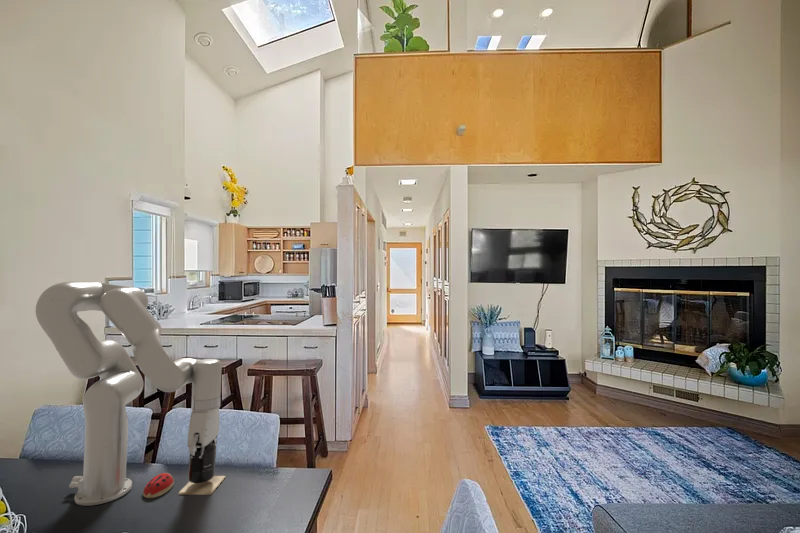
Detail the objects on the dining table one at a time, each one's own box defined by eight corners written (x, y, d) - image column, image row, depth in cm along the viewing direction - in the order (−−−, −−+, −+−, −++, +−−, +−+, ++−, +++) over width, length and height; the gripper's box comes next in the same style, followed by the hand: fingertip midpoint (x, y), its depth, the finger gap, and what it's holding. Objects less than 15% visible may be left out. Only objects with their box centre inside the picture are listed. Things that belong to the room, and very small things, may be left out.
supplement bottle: (203, 485, 107) (205, 442, 107) (182, 482, 108) (184, 439, 108) (220, 473, 113) (221, 432, 114) (199, 470, 115) (201, 430, 115)
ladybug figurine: (178, 481, 113) (179, 469, 114) (162, 500, 104) (163, 486, 104) (154, 482, 112) (155, 470, 113) (136, 501, 103) (136, 488, 103)
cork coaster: (178, 494, 106) (178, 492, 106) (194, 477, 115) (195, 475, 115) (211, 494, 106) (211, 492, 106) (225, 477, 115) (225, 475, 115)
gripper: (207, 393, 120) (205, 451, 119) (176, 413, 103) (174, 480, 102) (231, 394, 120) (229, 451, 120) (205, 413, 103) (202, 480, 102)
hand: (203, 464), depth 111 cm, fingers closed on supplement bottle, 6 cm apart
